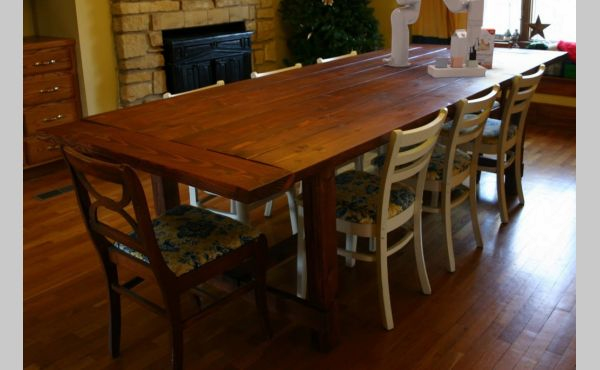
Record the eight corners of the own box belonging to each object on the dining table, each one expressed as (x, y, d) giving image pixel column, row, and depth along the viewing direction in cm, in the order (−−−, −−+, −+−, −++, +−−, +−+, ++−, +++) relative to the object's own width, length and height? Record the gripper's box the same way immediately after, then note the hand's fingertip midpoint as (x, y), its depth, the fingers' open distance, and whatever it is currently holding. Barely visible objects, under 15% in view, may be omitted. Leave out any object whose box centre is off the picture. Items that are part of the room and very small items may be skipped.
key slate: (437, 68, 317) (438, 58, 315) (435, 66, 321) (435, 56, 320) (447, 67, 317) (447, 57, 315) (444, 66, 322) (444, 56, 320)
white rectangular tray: (434, 77, 314) (435, 69, 312) (427, 73, 327) (427, 65, 326) (485, 76, 315) (485, 68, 314) (476, 71, 328) (476, 63, 327)
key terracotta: (453, 67, 317) (453, 57, 316) (450, 66, 322) (451, 56, 320) (462, 67, 318) (463, 57, 316) (459, 65, 322) (460, 56, 320)
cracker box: (465, 68, 337) (468, 29, 330) (464, 67, 343) (467, 28, 336) (492, 68, 335) (495, 29, 328) (490, 67, 341) (494, 27, 334)
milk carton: (449, 63, 355) (451, 29, 349) (459, 62, 358) (461, 28, 352) (457, 65, 349) (459, 30, 343) (467, 64, 352) (470, 29, 346)
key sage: (468, 70, 318) (469, 60, 317) (465, 69, 323) (466, 59, 321) (477, 70, 319) (478, 60, 317) (474, 69, 323) (475, 59, 321)
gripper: (462, 22, 320) (460, 58, 326) (472, 25, 306) (470, 62, 312) (477, 21, 320) (474, 57, 326) (487, 24, 306) (484, 62, 312)
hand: (472, 60), depth 319 cm, fingers closed
